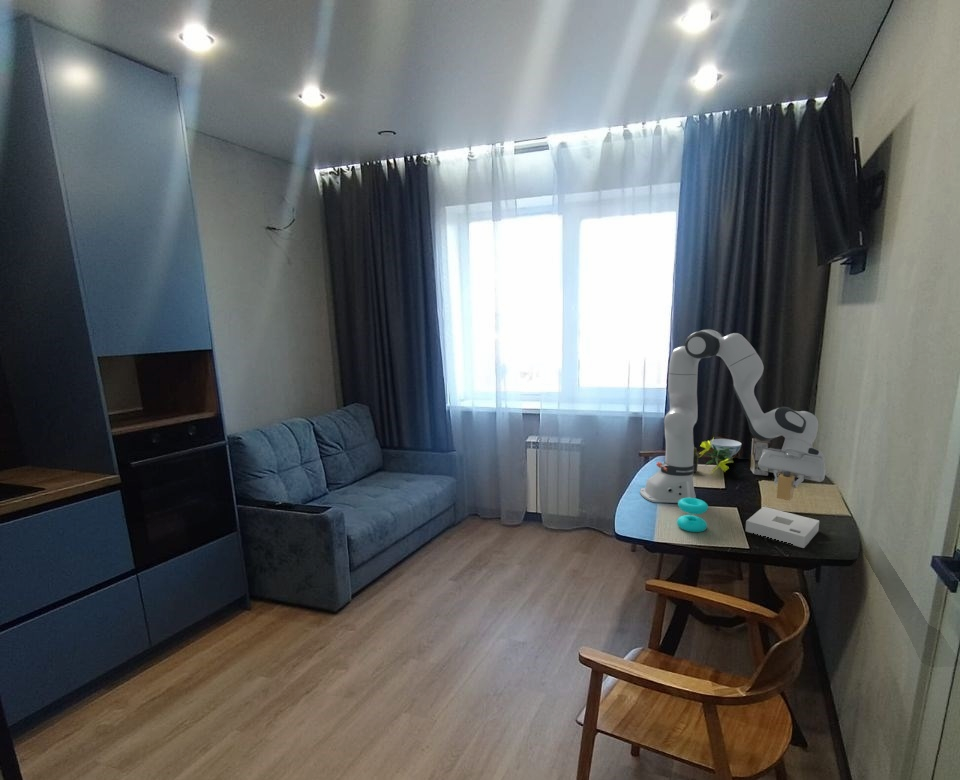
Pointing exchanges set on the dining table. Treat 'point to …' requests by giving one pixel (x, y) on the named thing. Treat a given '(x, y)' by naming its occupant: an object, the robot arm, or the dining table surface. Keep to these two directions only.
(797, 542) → the socket block
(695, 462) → the supplement bottle
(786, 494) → the tan rectangular block
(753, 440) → the coffee box
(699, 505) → the donuts
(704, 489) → the dining table surface
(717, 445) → the chinaware
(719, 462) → the daffodil flowers
